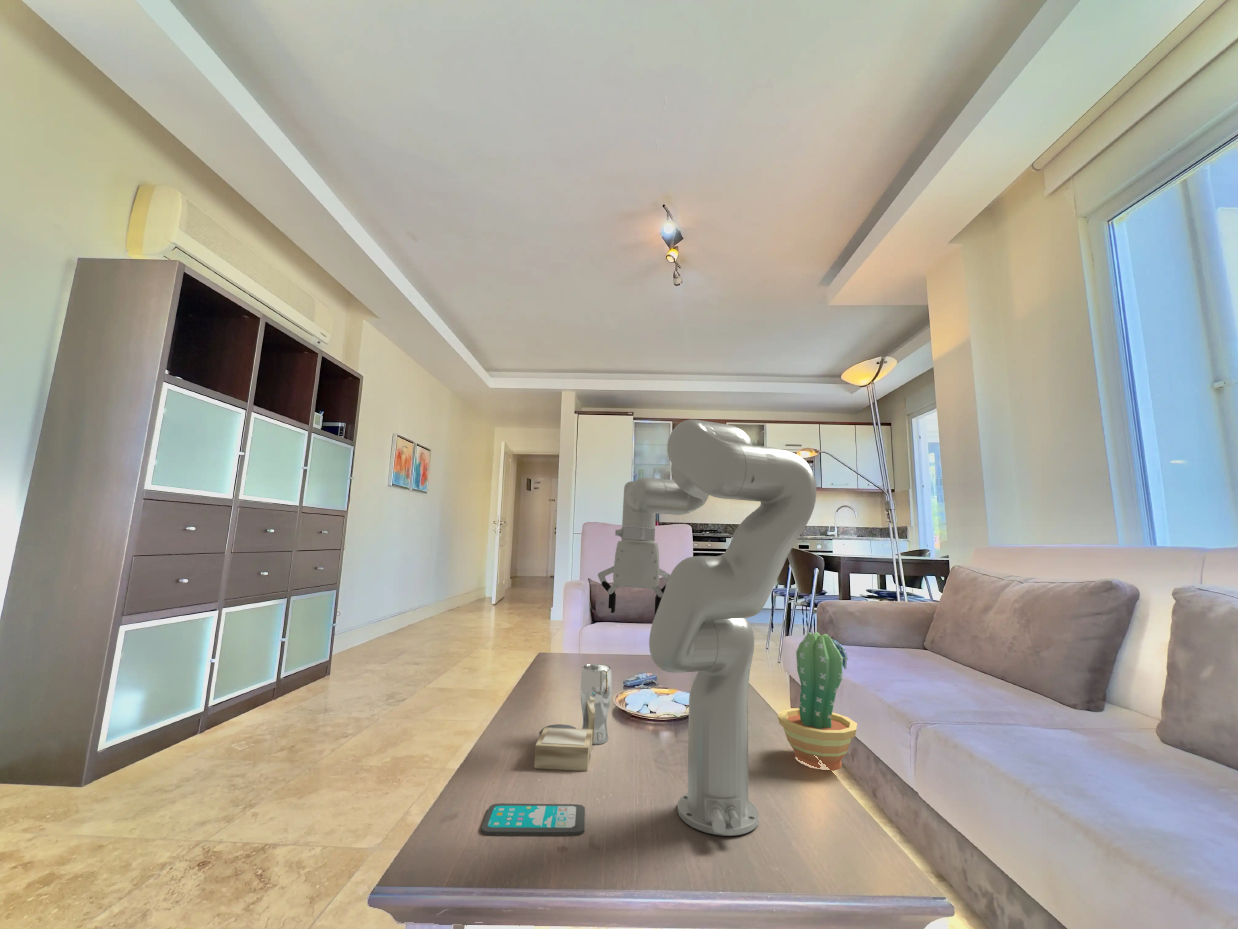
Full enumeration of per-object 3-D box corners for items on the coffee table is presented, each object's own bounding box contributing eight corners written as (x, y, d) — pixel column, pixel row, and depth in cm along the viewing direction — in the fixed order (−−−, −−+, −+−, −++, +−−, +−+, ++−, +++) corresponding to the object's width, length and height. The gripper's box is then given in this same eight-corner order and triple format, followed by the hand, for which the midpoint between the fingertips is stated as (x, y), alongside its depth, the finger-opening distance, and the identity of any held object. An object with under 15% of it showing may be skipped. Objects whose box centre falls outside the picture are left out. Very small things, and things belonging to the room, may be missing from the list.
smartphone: (584, 831, 75) (479, 830, 74) (584, 839, 75) (479, 838, 74) (584, 802, 83) (491, 801, 82) (584, 809, 83) (490, 808, 82)
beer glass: (611, 735, 115) (614, 664, 118) (608, 746, 108) (610, 671, 111) (581, 732, 116) (584, 662, 118) (575, 744, 109) (578, 669, 112)
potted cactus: (869, 782, 96) (863, 642, 100) (782, 772, 99) (780, 636, 103) (849, 751, 111) (845, 630, 114) (774, 743, 114) (773, 625, 118)
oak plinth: (587, 770, 96) (588, 747, 97) (534, 768, 97) (535, 744, 97) (591, 750, 106) (592, 728, 107) (543, 747, 107) (544, 726, 107)
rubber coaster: (575, 740, 111) (575, 737, 111) (538, 738, 112) (538, 736, 112) (579, 727, 119) (579, 725, 119) (544, 725, 120) (544, 723, 120)
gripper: (598, 534, 114) (594, 613, 112) (677, 538, 113) (674, 619, 110) (601, 533, 121) (597, 608, 119) (675, 537, 120) (673, 613, 118)
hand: (634, 613), depth 115 cm, fingers open, 9 cm apart
